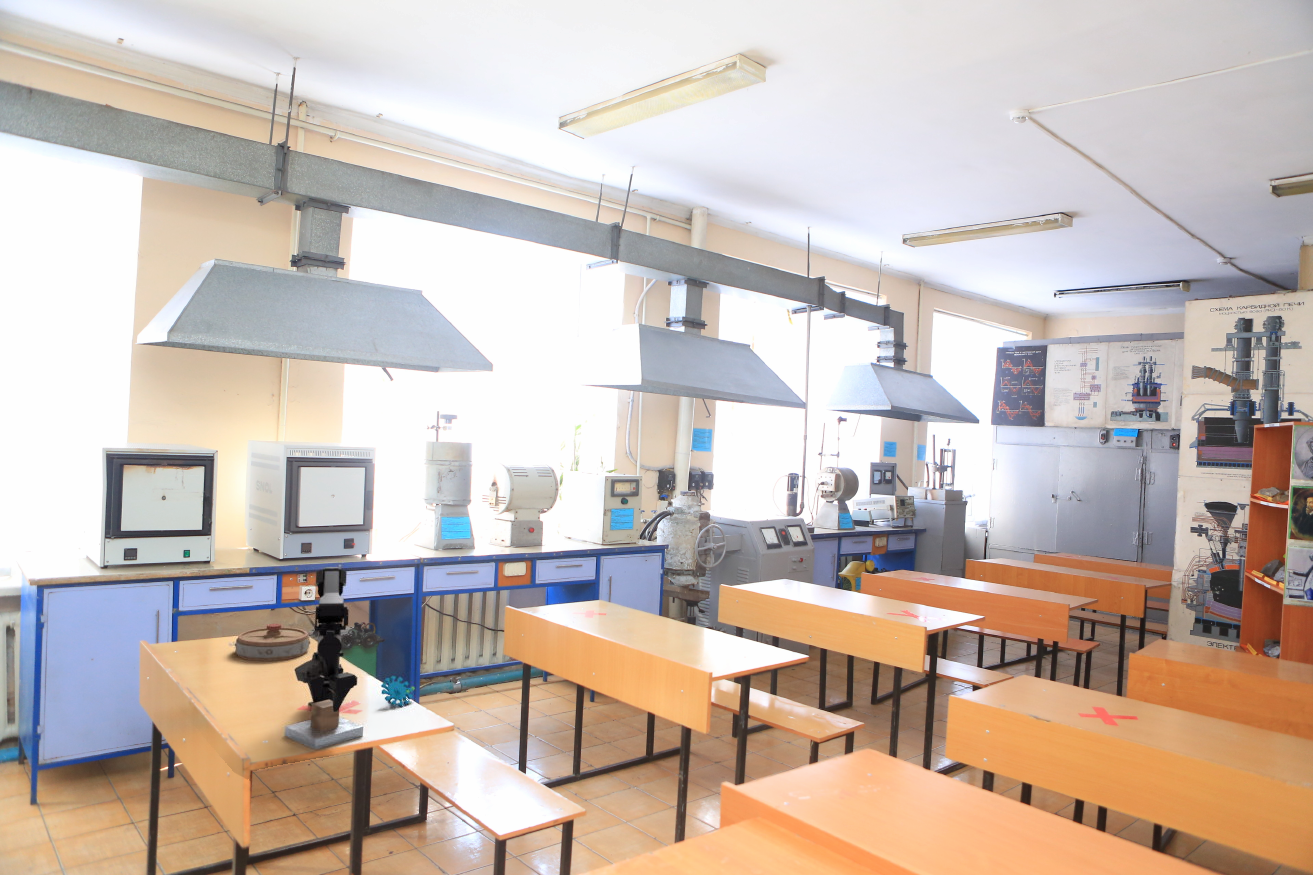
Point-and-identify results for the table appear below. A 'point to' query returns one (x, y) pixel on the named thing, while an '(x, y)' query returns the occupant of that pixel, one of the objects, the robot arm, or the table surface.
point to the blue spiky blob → (397, 691)
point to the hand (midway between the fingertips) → (325, 707)
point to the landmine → (272, 643)
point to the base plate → (323, 733)
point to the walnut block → (324, 715)
